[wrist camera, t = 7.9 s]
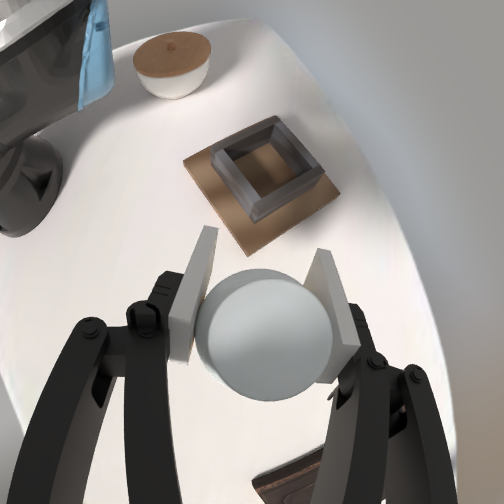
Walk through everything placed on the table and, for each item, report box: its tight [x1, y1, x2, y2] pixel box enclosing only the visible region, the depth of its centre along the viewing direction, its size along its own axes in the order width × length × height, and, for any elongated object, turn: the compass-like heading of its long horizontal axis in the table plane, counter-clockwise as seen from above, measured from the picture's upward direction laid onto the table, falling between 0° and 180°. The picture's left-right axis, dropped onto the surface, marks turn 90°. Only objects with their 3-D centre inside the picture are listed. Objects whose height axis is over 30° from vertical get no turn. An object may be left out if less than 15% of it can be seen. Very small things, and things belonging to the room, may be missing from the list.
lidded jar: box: [133, 32, 211, 99], centre depth 31 cm, size 11×11×9 cm
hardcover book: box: [252, 406, 406, 504], centre depth 25 cm, size 16×23×2 cm
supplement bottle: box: [195, 269, 333, 401], centre depth 13 cm, size 5×5×10 cm
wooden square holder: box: [183, 116, 340, 257], centre depth 31 cm, size 14×14×5 cm
